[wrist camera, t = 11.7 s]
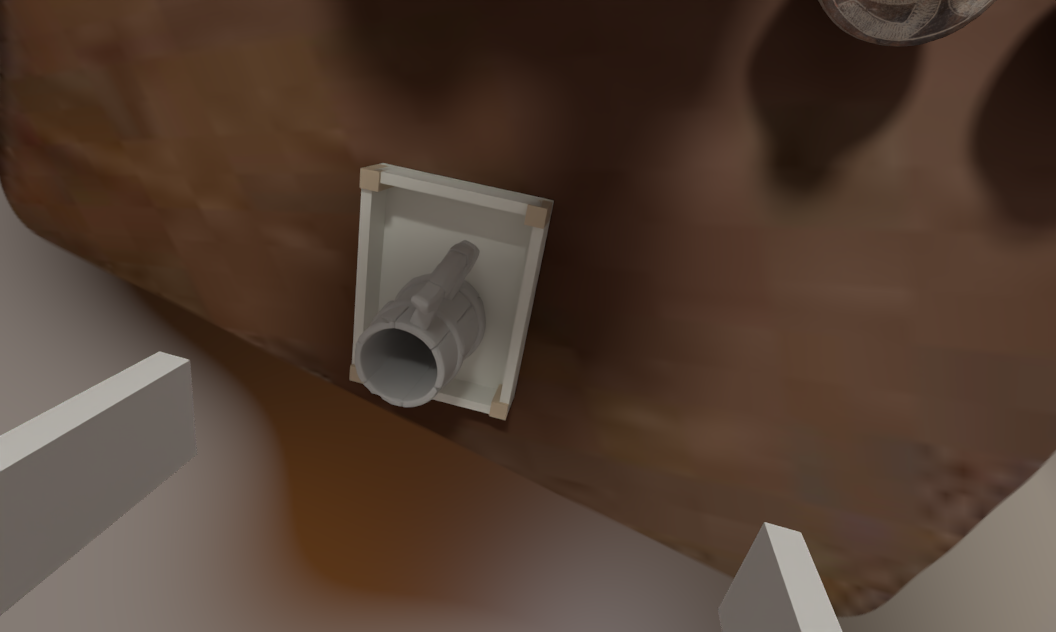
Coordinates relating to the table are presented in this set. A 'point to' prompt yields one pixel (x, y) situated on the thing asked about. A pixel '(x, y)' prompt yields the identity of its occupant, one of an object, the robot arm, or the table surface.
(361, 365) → the mug
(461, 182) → the crate
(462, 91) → the table surface
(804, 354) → the table surface
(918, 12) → the pottery
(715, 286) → the table surface
